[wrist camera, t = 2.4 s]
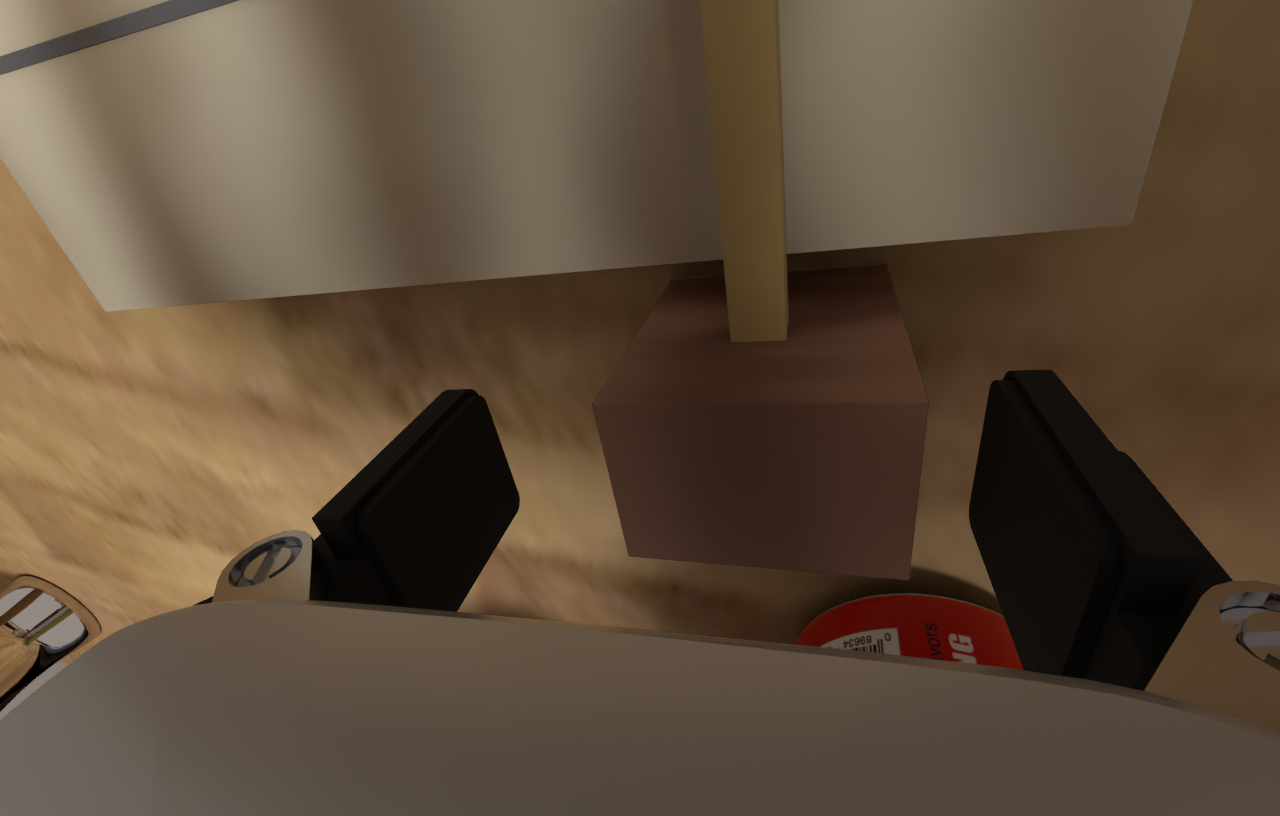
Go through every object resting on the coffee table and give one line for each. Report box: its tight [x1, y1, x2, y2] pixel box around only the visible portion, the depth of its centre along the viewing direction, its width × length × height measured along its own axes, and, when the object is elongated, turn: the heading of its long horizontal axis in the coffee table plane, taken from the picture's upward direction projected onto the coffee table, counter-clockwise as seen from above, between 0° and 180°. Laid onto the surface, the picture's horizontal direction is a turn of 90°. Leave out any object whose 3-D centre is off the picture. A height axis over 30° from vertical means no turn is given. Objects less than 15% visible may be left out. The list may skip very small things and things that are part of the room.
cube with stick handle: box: [592, 0, 929, 580], centre depth 10 cm, size 5×11×6 cm, turn 10°
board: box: [0, 0, 1194, 312], centre depth 12 cm, size 26×9×2 cm, turn 100°
